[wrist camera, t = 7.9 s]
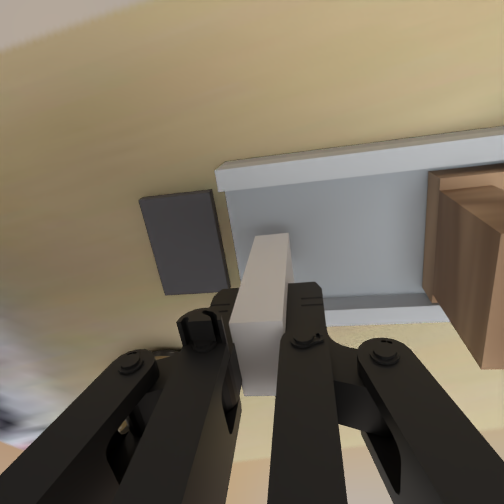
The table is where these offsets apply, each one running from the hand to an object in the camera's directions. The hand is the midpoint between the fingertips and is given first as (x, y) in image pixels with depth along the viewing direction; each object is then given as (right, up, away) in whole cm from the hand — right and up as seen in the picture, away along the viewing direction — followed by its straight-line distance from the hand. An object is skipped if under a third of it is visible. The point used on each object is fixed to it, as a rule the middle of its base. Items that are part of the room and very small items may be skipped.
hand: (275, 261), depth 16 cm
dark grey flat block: (-5, +1, +4) cm, 7 cm away
